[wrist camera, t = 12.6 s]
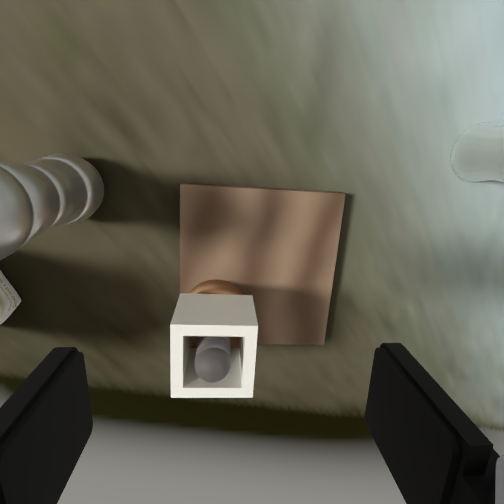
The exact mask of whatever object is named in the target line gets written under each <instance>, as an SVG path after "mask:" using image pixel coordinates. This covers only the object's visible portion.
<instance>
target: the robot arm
mask: <svg viewBox="0 0 504 504" xmlns="http://www.w3.org/2000/svg"><path fill="white" fill-rule="evenodd" d="M365 420H366V424H367V426H368V429H369V431H370V433H371V435H372V437H373V438H374V440H375V442H376V444H377V446H378V448H379V450H380V452H381V454H382V456H383V458H384V460H385V462H386V464H387V466H388V468H389V470H390V472H391V474H392V476H393V478H394V480H395V482H396V484H397V486H398V488H399V490H400V492H401V493H402V496H403V498H404V499H405V501H406V503H407V504H504V455H502V456H501V457H500V456H499V455H498V453H496V451H495V450H494V449H493V444H492V443H491V442H490V441H489V440H488V438H487V437H486V436H485V435H484V434H483V433H482V432H481V431H480V430H479V429H478V427H477V426H476V425H475V424H474V423H473V422H472V421H471V420H470V419H469V418H468V416H467V415H466V414H465V413H464V412H463V411H462V410H461V409H460V408H459V407H458V405H457V404H456V403H455V402H454V401H453V400H452V399H451V398H450V397H449V396H448V394H447V393H446V392H445V391H444V390H443V389H442V388H441V387H440V386H439V384H438V383H437V382H436V381H435V380H434V379H433V378H432V377H431V376H430V375H429V373H428V372H427V371H426V370H425V369H424V368H423V367H422V366H421V365H420V364H419V362H418V361H417V360H416V359H415V358H414V357H413V356H412V355H411V354H410V353H409V351H408V350H407V349H406V348H405V347H404V346H403V345H402V344H401V343H382V344H381V345H380V348H376V350H375V354H374V360H373V367H372V373H371V380H370V386H369V392H368V399H367V405H366V412H365ZM92 427H93V421H92V413H91V406H90V398H89V391H88V384H87V376H86V369H85V362H84V355H83V353H82V352H78V350H77V348H75V347H57V348H54V349H53V350H52V351H51V352H50V353H49V354H48V355H47V356H46V357H45V359H44V360H43V361H42V362H41V363H40V364H39V365H38V366H37V367H36V369H35V370H34V371H33V372H32V373H31V374H30V375H29V376H28V377H27V379H26V380H25V381H24V382H23V383H22V384H21V385H20V386H19V388H18V389H17V390H16V391H15V392H14V393H13V394H12V395H11V396H10V398H9V399H8V400H7V401H6V402H5V403H4V404H3V405H2V407H1V408H0V504H57V502H58V500H59V498H60V496H61V494H62V492H63V490H64V488H65V486H66V484H67V482H68V480H69V478H70V476H71V474H72V471H73V470H74V468H75V465H76V463H77V461H78V459H79V457H80V455H81V453H82V451H83V449H84V447H85V445H86V443H87V441H88V439H89V437H90V435H91V432H92Z"/></svg>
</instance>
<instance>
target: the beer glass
mask: <svg viewBox="0 0 504 504" xmlns="http://www.w3.org/2000/svg"><path fill="white" fill-rule="evenodd" d="M451 165H452V168H453V170H454V172H455V174H456V175H457V176H458V177H460V178H461V179H463V180H465V181H469V182H480V181H487V180H496V181H501V182H504V125H500V124H493V123H479V124H475V125H472V126H470V127H469V128H467V129H466V130H464V131H463V132H462V133H461V134H460V135H459V136H458V138H457V139H456V141H455V143H454V145H453V147H452V151H451Z"/></svg>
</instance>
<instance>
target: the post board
mask: <svg viewBox="0 0 504 504" xmlns="http://www.w3.org/2000/svg"><path fill="white" fill-rule="evenodd" d="M345 195H346V194H345V193H342V192H330V191H312V190H295V189H277V188H260V187H242V186H225V185H207V184H190V183H181V184H180V293H188V294H225V295H252V296H253V301H254V307H255V312H256V317H257V323H258V334H257V344H288V345H324V340H325V333H326V326H327V319H328V312H329V305H330V299H331V292H332V285H333V278H334V271H335V264H336V257H337V250H338V243H339V236H340V229H341V222H342V215H343V209H344V202H345ZM239 339H240V337H230V336H190V348H197V349H196V356H195V370H196V373H197V375H198V376H199V377H200V378H201V379H202V380H204V381H206V382H211V383H213V382H218V381H220V380H222V379H223V378H224V377H225V376H226V375H227V374H228V372H229V370H230V367H231V349H230V348H239Z"/></svg>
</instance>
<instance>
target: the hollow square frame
mask: <svg viewBox="0 0 504 504" xmlns="http://www.w3.org/2000/svg"><path fill="white" fill-rule="evenodd" d="M257 334H258V323H257V317H256V312H255V307H254V301H253V296H252V295H225V294H188V293H180V296H179V299H178V302H177V305H176V308H175V311H174V314H173V318H172V321H171V324H170V349H171V398H253V385H254V373H255V360H256V347H257ZM190 336H230V337H240V339H239V348H230V349H231V367H230V370H229V372H228V374H227V375H226V376H225V377H224V378H223V379H222V380H220V381H218V382H213V383H211V382H206V381H204V380H202V379H201V378H200V377H199V376H198V375H197V373H196V370H195V356H196V349H197V348H190Z"/></svg>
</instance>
